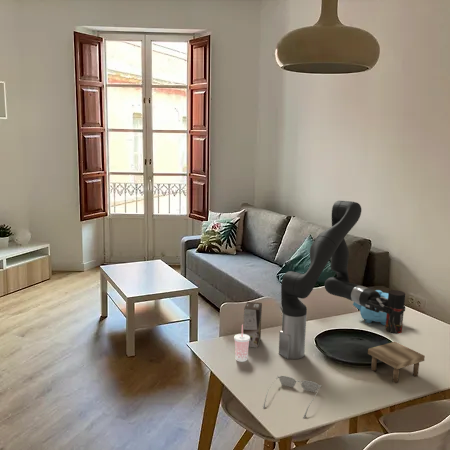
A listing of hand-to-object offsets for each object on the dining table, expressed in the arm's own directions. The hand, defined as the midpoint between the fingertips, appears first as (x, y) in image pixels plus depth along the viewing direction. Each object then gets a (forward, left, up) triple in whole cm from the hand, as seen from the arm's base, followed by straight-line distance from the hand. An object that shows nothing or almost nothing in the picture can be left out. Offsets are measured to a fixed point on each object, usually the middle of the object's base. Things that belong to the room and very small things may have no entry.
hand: (398, 310), depth 197 cm
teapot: (+27, +36, -22) cm, 50 cm away
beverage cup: (-49, +32, -22) cm, 62 cm away
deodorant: (0, +2, -9) cm, 9 cm away
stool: (-5, -4, -22) cm, 23 cm away
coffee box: (-37, +43, -22) cm, 60 cm away
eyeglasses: (-50, -2, -23) cm, 55 cm away
